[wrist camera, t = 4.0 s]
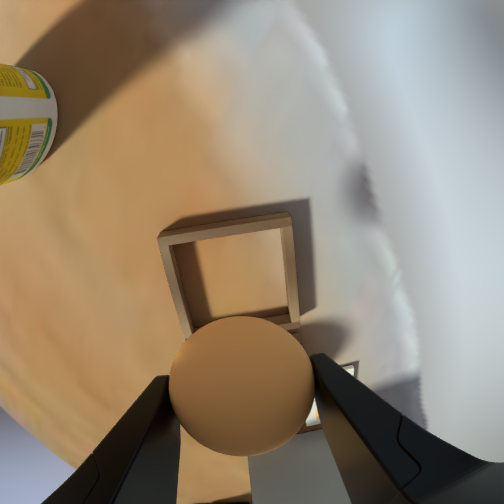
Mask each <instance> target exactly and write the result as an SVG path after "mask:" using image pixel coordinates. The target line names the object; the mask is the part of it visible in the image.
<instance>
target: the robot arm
mask: <svg viewBox="0 0 504 504" xmlns="http://www.w3.org/2000/svg"><path fill="white" fill-rule="evenodd" d="M309 359H310V362H311V364H312V368H313V372H314V376H315V397H314V398H315V402H316V406H317V411H318V415H319V419H320V423H321V426H322V429H323V432H324V434H325V437H326V439H327V442H328V444H329V447H330V450H331V452H332V455H333V457H334V460H335V462H336V465H337V468H338V470H339V473H340V475H341V478H342V481H343V483H344V486H345V488H346V491H347V493H348V496H349V499H350V501H351V504H504V463H495V462H488V461H484V460H481V459H478V458H476V457H474V456H472V455H470V454H468V453H466V452H464V451H462V450H460V449H458V448H456V447H455V446H453V445H451V444H449V443H447V442H445V441H443V440H442V439H440V438H438V437H437V436H435V435H433V434H431V433H430V432H428V431H426V430H425V429H423V428H422V427H421V426H419V425H418V424H416V423H415V422H413V421H412V420H411V419H409V418H408V417H407V416H405V415H403V416H402V413H401V412H400V411H398V410H397V409H396V408H394V407H393V406H392V405H390V404H389V403H388V402H386V401H385V400H384V399H383V398H381V397H380V396H379V395H377V394H376V393H375V392H373V391H372V390H371V389H369V388H368V387H367V386H365V385H364V384H363V383H362V382H360V381H359V380H358V379H356V378H355V377H354V376H353V375H351V374H350V373H349V372H347V371H346V370H345V369H344V368H342V367H341V366H340V365H338V364H337V363H336V362H335V361H333V360H332V359H331V358H330V357H328V356H327V355H326V354H324V353H318V354H313V355H311V356H310V357H309ZM180 445H181V438H180V422H179V420H178V419H177V417H176V415H175V413H174V410H173V407H172V404H171V401H170V394H169V375H161V376H156V377H155V378H154V379H153V381H152V382H151V383H150V384H149V385H148V387H147V388H146V389H145V390H144V391H143V392H142V394H141V395H140V396H139V397H138V398H137V400H136V401H135V402H134V403H133V404H132V406H131V407H130V408H129V409H128V410H127V412H126V413H125V414H124V415H123V416H122V417H121V419H120V420H119V421H118V422H117V423H116V425H115V426H114V427H113V428H112V429H111V431H110V432H109V433H108V434H107V435H106V436H105V438H104V439H103V440H102V441H101V442H100V444H99V445H98V446H97V447H96V448H95V449H94V451H93V454H90V455H89V456H88V458H87V459H86V460H85V461H84V462H83V463H82V464H81V466H80V467H79V468H78V469H77V470H76V471H75V472H74V473H73V474H72V475H71V476H70V477H69V478H68V479H67V480H66V481H65V482H64V483H63V484H62V485H61V486H60V487H59V488H58V489H57V490H56V491H54V492H53V493H52V494H51V495H50V496H49V497H48V498H47V499H46V500H45V501H43V502H42V503H41V504H176V499H177V484H178V471H179V459H180ZM242 504H249V503H242Z"/></svg>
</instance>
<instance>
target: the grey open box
mask: <svg viewBox="0 0 504 504" xmlns="http://www.w3.org/2000/svg"><path fill="white" fill-rule="evenodd" d="M248 464H249V474H250V484H251V493H252V503H253V504H351V501H350V499H349V496H348V493H347V491H346V488H345V486H344V483H343V481H342V478H341V475H340V473H339V470H338V468H337V465H336V462H335V460H334V457H333V455H332V452H331V450H330V447H329V444H328V442H327V439H326V437H325V434H324V432H323V429H320V430H315V431H310V432H306V433H301V434H295V435H294V436H293V437H292V438H291V439H290V440H289V441H287V442H286V443H285V444H283V445H282V446H280V447H278V448H276V449H274V450H272V451H269V452H266V453H263V454H259V455H254V456H248Z"/></svg>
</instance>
